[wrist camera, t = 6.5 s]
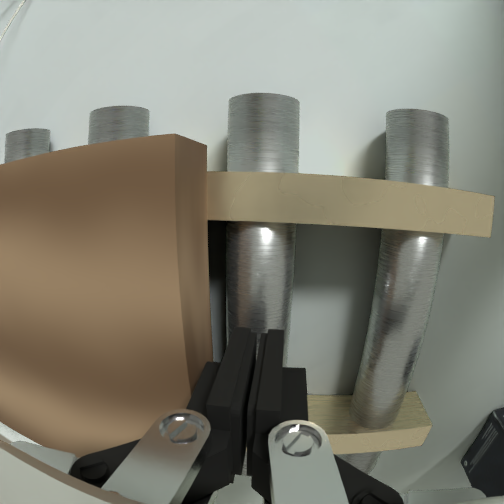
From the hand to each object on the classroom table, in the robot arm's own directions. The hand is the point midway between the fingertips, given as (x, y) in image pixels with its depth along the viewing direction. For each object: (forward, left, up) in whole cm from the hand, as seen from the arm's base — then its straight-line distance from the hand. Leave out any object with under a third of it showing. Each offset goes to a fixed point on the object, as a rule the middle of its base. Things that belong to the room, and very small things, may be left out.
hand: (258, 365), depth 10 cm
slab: (0, -11, -1) cm, 11 cm away
